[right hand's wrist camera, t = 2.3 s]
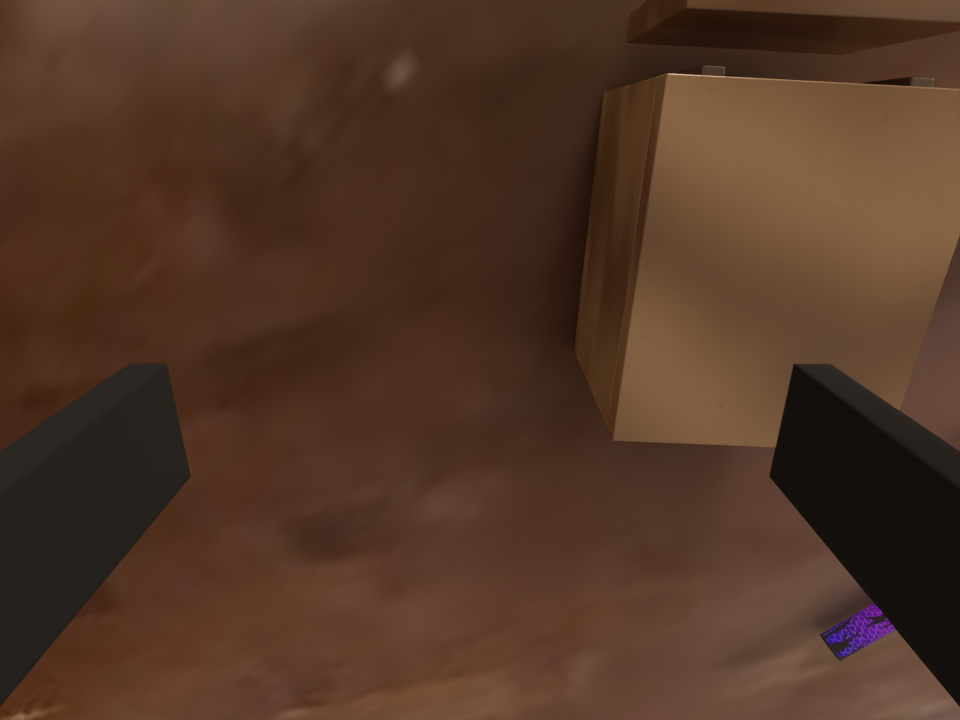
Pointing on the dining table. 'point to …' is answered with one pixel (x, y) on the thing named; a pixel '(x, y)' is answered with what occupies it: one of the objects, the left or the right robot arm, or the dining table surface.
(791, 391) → the right robot arm
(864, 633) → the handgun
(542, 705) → the dining table surface
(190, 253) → the dining table surface
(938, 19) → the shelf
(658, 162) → the wooden block
